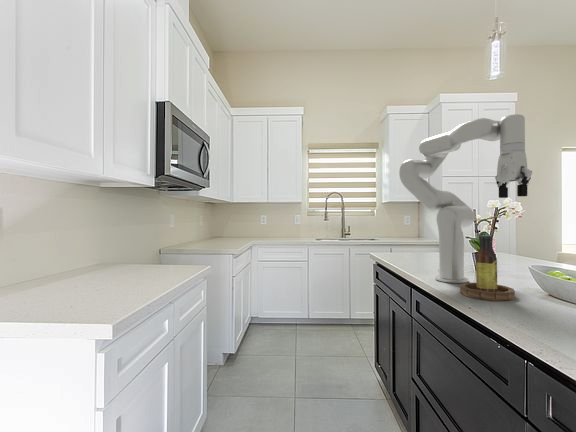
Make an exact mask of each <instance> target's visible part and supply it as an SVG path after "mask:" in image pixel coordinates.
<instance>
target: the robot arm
mask: <svg viewBox="0 0 576 432" xmlns="http://www.w3.org/2000/svg"><path fill="white" fill-rule="evenodd" d="M478 139H479V140H483V141H488V142H497V141H499V157H498V160H497V165H496V166H497V168H496V176H495V177H494V179H495V183H496V185H497V187H498V198H499V199H508V197H509V187H508V184H509V183H511V182H512V183H513V182H517V184H516V185H517V186H516V187H517V189H516V190H517V197H527V196H528V185H529V184H530V180H531V179H532V178H531V177H532V174H533V170H531V169H529V168H528V159H527V154H526V119H525V116H524V115H523V114H520V113H519V114H518V113H517V114H509V115H505V116H503V117H501V119H500V120H494V119H491V118H485V117H481V118H476V119H473V120H470V121H466V122H464V123H461V124H459V125H457V126H456V127H455V128H453V129H451V130H450V131H448V132H444V133H440V134H438V135H434V136H431V137H428V138H425V139H424V140H422V141H421V142H420V143H419V145H418V150H419V153H420V154H421V155H422V156H423V157H425V158H424V160H423V159H415V158H413V159H412V158H410V159H406V160H405V161H403V162H402V163H401V165H400V167H399V171H398V173H399V175H398V176H399V179H400V182H401V183H402V185H403V186H404V188H405V189H406V190H408V191H409V192H410V194H412V195H413V196H414V197H415V198H416V200H418V202H419V203H421V205H423V206H424V207H425V208H426V209H427V210H429V211H431V212H437V214H436V225H437V231H438V269H437V272H438V275H435V277H434V278H435V279H434V280H435V281H439V282H442V283H443V282H444V283H451V284H463V283H469V278H468V277H466V276H465V237H464V232H463V228H469V227H471V226H472V225H473V224H474V222H475V219H476V215H475V212H474V210H473V209H472V208H471V207H470V206H469V205H467V203H465V202H464V201H463V200H462V199H461V198H459V196H457V195H456V194H454V193H452V192H451V191H448V190H439V189H436V188H435V187H434V186H433V185H432V184H431V183H429V182H428V181H427V180H426V179H428V178H430V177H431V176H433V175H434V174H435V172H436V171H437V170H438V169H439V167H440V166H441V164H442V163H444V161H445V160H446V158H447V156H448V155H449V153H452V152H456V151H458V150H460V149H461V147H462V144H465V143H467V142H470V141H475V140H478Z"/></svg>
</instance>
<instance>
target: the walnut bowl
mask: <svg viewBox="0 0 576 432" xmlns="http://www.w3.org/2000/svg"><path fill="white" fill-rule="evenodd" d="M459 286H460V287H459V292H460V293H459V294H461V295H462V296H465V297H468V298H471V299H475V300H482V301H493V302H509V301H513V300H515V297H516V290H515V289H514V288H513V287H510V286H507V285H501V284H497V292H488V291H479V290H477V283H476V282H466V283H459Z"/></svg>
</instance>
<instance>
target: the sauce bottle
mask: <svg viewBox="0 0 576 432" xmlns="http://www.w3.org/2000/svg"><path fill="white" fill-rule="evenodd" d="M478 239H479V249H478V251H477V253H476V254H475V255H476V258H475V259H476V261H475V267H476V268H475V269H476V270H475V271H476V272H475V273H476V274H475V275H476V276H475V277H476V282H475V283H477V290H479V291H488V292H497V285H498V259H497V256H496V255H497V254H495V250H494V248H493V240H494V237H493V235H479V236H478Z"/></svg>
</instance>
